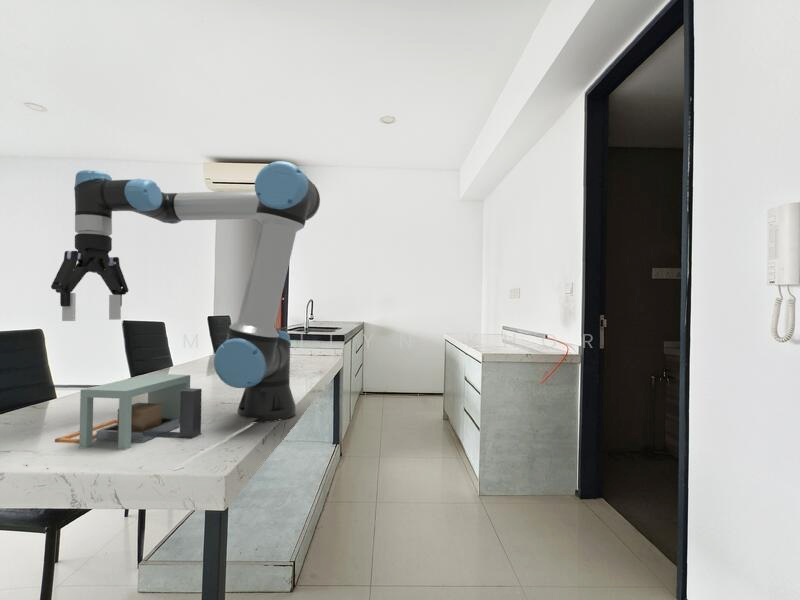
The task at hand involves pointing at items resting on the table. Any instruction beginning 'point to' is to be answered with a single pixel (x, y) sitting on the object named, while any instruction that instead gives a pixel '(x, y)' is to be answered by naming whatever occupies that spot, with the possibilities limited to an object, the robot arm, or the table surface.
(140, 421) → the walnut block
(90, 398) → the tunnel
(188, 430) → the slider
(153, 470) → the table surface
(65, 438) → the orange rails
